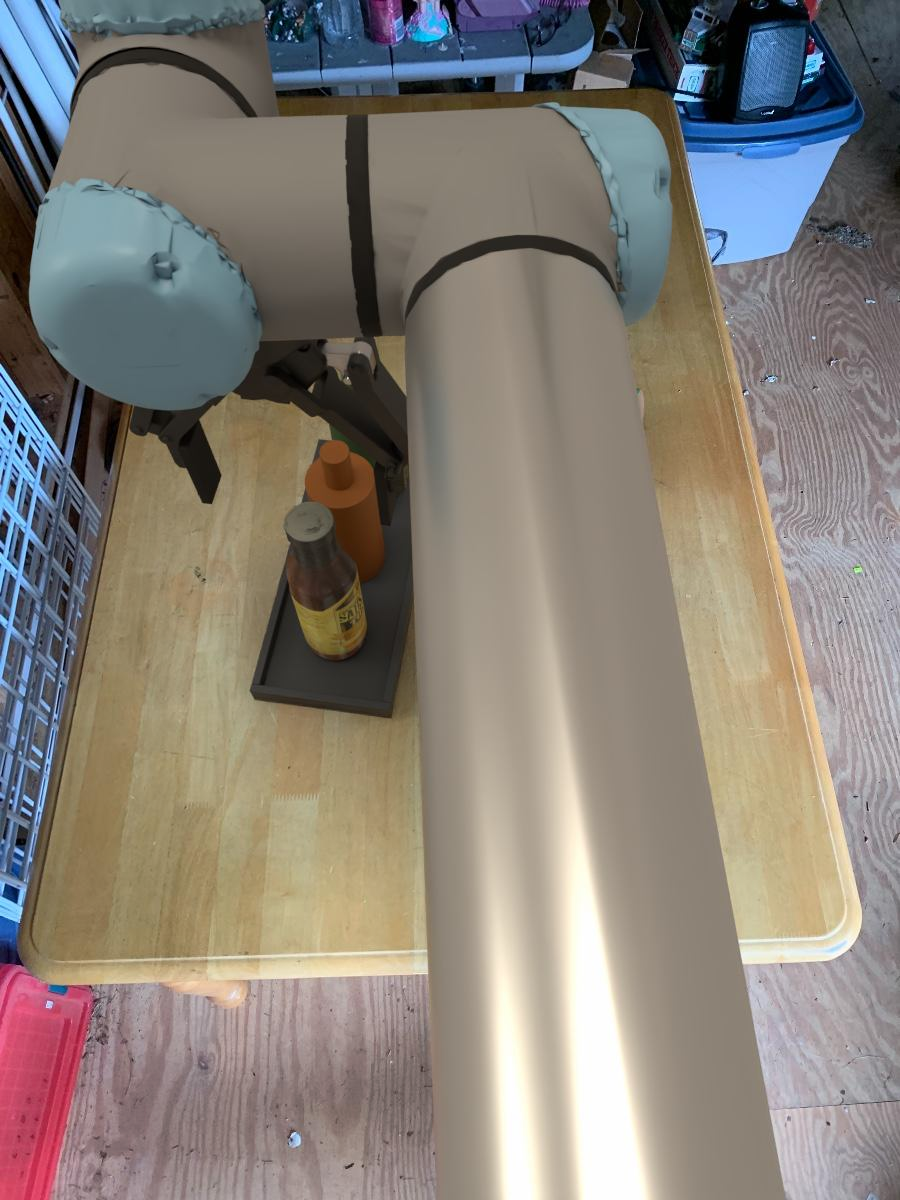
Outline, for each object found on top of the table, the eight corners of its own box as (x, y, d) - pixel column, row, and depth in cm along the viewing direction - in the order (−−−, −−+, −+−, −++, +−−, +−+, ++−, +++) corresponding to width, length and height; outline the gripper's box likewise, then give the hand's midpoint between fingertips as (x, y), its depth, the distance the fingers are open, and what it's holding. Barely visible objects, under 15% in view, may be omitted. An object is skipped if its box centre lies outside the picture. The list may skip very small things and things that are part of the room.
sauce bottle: (361, 667, 82) (337, 566, 65) (299, 658, 83) (259, 555, 65) (374, 609, 85) (355, 497, 68) (315, 600, 86) (280, 487, 68)
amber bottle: (379, 587, 86) (363, 485, 70) (319, 580, 87) (289, 477, 71) (390, 536, 89) (377, 426, 73) (331, 528, 90) (306, 418, 74)
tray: (391, 718, 80) (389, 710, 78) (254, 699, 81) (249, 691, 79) (438, 465, 95) (438, 452, 93) (321, 451, 96) (318, 438, 93)
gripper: (479, 242, 45) (470, 479, 64) (36, 199, 46) (155, 441, 65) (460, 344, 41) (457, 562, 60) (-19, 293, 43) (123, 521, 62)
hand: (299, 500), depth 63 cm, fingers open, 13 cm apart
